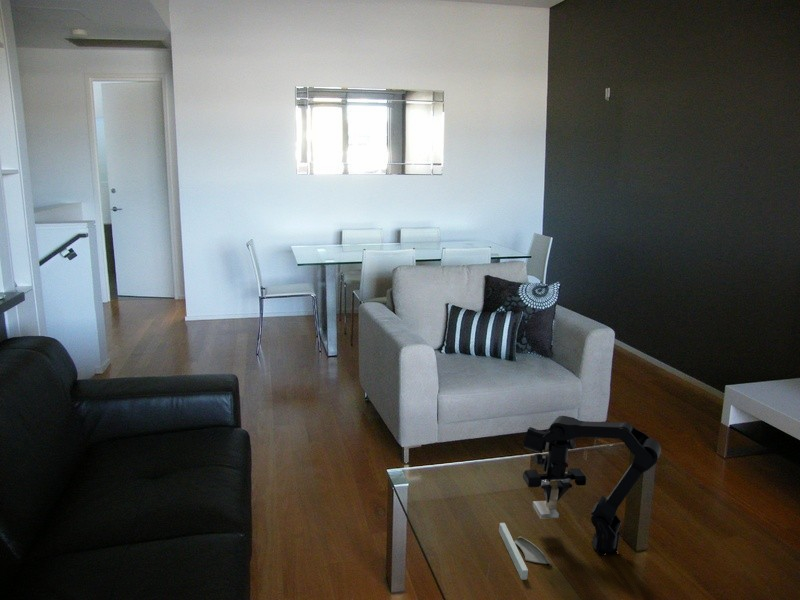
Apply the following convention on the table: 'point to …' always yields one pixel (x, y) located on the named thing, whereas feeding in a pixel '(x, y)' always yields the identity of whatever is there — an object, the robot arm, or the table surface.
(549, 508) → the plate with square post
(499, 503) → the table surface
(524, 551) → the ceramic fragment
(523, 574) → the stop rail
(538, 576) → the table surface
